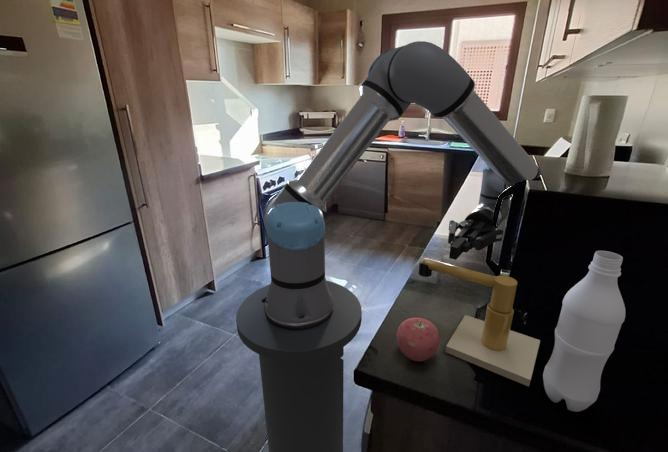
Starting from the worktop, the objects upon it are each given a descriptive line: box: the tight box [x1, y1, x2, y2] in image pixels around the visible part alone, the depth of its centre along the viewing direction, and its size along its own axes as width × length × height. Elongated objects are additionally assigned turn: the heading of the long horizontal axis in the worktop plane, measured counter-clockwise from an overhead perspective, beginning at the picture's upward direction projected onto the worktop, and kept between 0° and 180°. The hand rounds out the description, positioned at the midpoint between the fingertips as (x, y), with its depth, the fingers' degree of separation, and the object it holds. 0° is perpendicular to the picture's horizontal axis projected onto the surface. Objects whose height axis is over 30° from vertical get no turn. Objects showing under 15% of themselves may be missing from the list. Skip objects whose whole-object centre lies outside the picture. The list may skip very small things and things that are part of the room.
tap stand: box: [444, 302, 541, 388], centre depth 63 cm, size 14×12×9 cm
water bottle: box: [542, 250, 626, 413], centre depth 50 cm, size 7×7×25 cm
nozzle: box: [417, 257, 518, 313], centre depth 64 cm, size 18×4×6 cm, turn 54°
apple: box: [396, 317, 441, 362], centre depth 62 cm, size 7×7×8 cm
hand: (453, 253), depth 71 cm, fingers closed
